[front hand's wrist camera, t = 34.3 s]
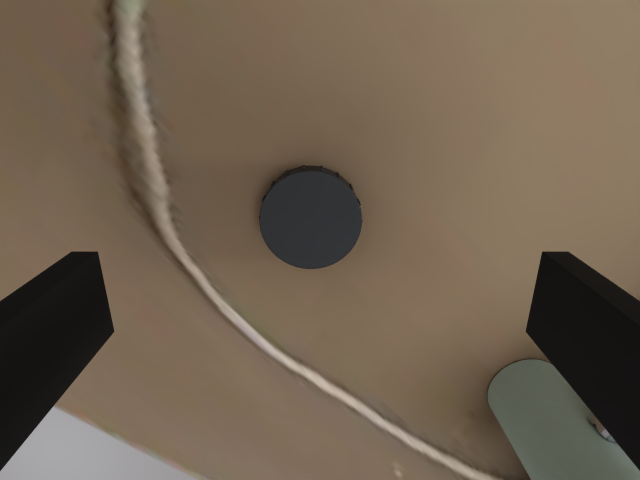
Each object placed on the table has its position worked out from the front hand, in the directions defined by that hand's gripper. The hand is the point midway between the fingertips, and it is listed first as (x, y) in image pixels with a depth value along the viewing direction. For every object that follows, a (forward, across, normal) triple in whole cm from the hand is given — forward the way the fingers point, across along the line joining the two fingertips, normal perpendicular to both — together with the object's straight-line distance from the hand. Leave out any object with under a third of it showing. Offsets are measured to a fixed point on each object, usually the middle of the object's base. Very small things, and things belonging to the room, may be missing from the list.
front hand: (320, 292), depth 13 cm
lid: (+11, 0, -1) cm, 11 cm away
